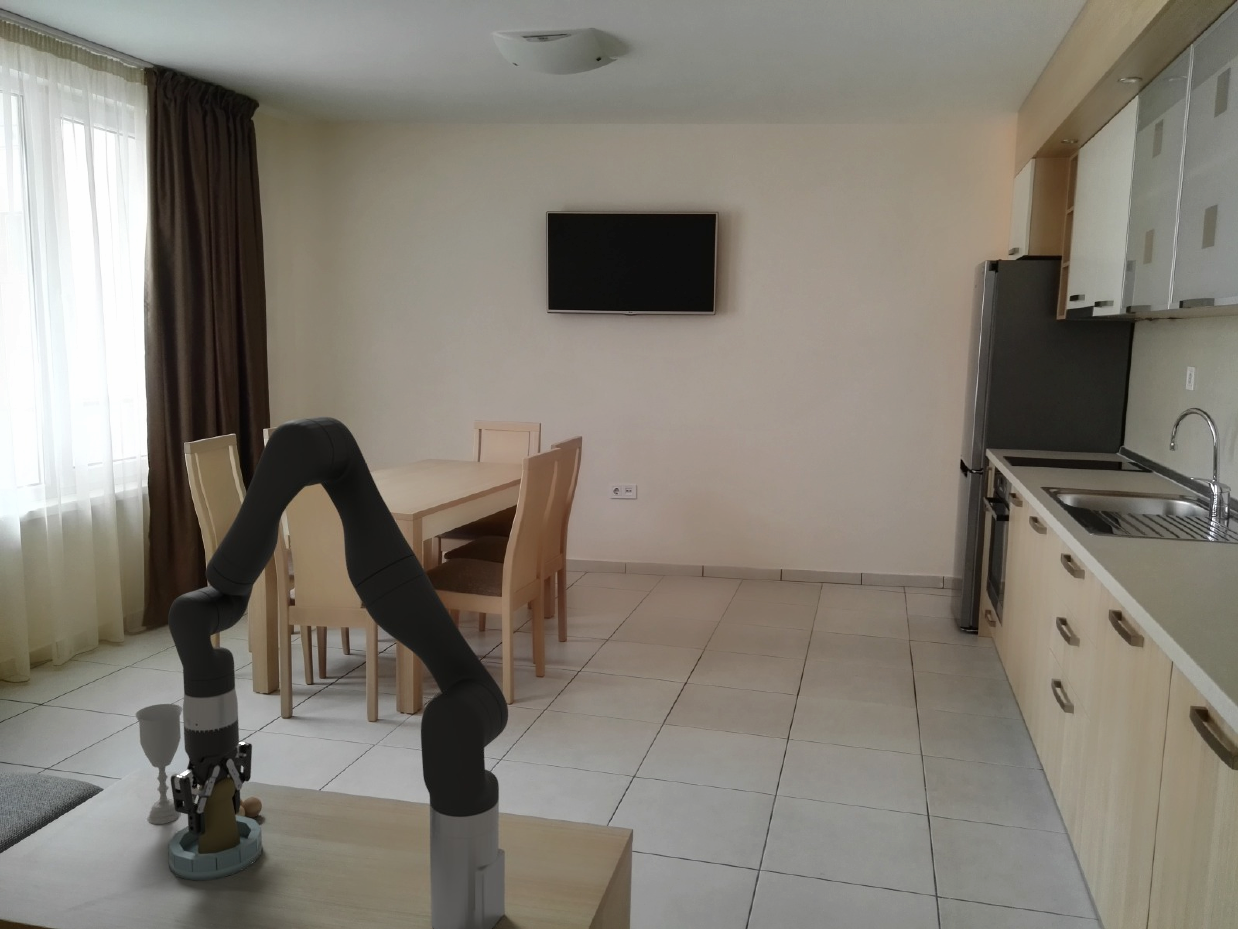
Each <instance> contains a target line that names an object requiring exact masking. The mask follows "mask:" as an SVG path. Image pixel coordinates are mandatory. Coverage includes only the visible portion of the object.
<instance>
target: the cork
mask: <svg viewBox="0 0 1238 929" xmlns="http://www.w3.org/2000/svg"><path fill="white" fill-rule="evenodd" d="M198 786H199V787H198V789H200V790H203V789H204V786H200V785H198ZM234 793H235V782H234V781H233V779H231V778H230V777H229V776H227V778H226V779H223V780H221V781H220V782H218V783H217V784H216V785H215V786H213V789H212V792H211V795H210V796H209V797H207V799H206V802H205V806H204V809H203V811H204V815H205V833H204V834H203V835H201V836H199V844H198V853H199V854H210V853H218V852H221V851H225V850H228V849H231V848H234V847H236V846H237V845H239V844H240V843H241V842H240V837H239V832H238V827H237V821H236V816H235V811H234V806H233V801H232V797H233V795H234Z"/></svg>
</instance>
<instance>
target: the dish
mask: <svg viewBox="0 0 1238 929" xmlns="http://www.w3.org/2000/svg"><path fill="white" fill-rule="evenodd" d="M235 816H236V821H237V827H238V832H239V837H240V842H241V843H240V844H239V845H237V846H236V847H234V848H231V849H228V850H225V851H221V852H218V853H210V854H199V853H198V844H199V836H197V835H193V834H192V833H191V832H189V830H188V825H187V826H185V827H183V828H182V829H180V830H179V831H177V832H176V833H175V834H174V835H173V836H172V838H171V839H170V841H169V844H168V845H167V846H168V864H169V870H170V872H171V873H172V874H173V875H174V876H176V877H178V878H181V879H184V880H191V881H210V879H211V880H216V878H217V879H221V878H224V877H223V876H225V877H228V875H229V876H230V874H231V875H233V874H232V873H234V874H236V872H237V873H239V872H241V871H242V870H241V869H243V870H245V869H246V867H247V866H248V867H249V865H250V864H251V863H252V862H254V861H255V860H256V859H257V858H258V859H259V857H260V856H261V854H262V852H261V851H263V844H262V842H263V841H262V837H263V836H262V827H261V826H260V824H259V823H258V822H257V821H256V819H254V818H248V817H246V816H245V817H243V816H239V815H238V816H237V815H235ZM259 855H260V856H259ZM258 856H259V857H258ZM258 859H257V860H258ZM257 860H256V861H257ZM256 861H255V862H256ZM255 862H254V863H255ZM252 864H253V863H252ZM252 864H251V865H252ZM251 865H250V866H251ZM248 867H247V868H248ZM244 868H245V869H244ZM240 870H241V871H240ZM238 871H239V872H238ZM220 877H221V878H220Z"/></svg>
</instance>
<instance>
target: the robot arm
mask: <svg viewBox="0 0 1238 929" xmlns="http://www.w3.org/2000/svg"><path fill="white" fill-rule="evenodd" d="M273 430H274V431H273V432H272V433H271V434H270V436H269V438H268V439H267V442H266V444H265V446H264V448H263V451H262V453H261V456H260V459H258V460H259V461H258V464H257V466H256V468H255V471H254V474H253V477H252V479H251V481H250V484H249V486H248V488H247V491H246V494H245V497H244V499H243V501H242V502H241V503H242V504H241V505H240V507H239V510H238V512H237V515H236V517H235V518H234V520H233V522H232V524H231V525H230V528H229V529H228V531H227V533H226V534H225V535H224V537H223V539H222V540H221V542H220V543H219V545H218V546H217V548H216V550H215V552H214V553H213V555H212V556H211V558H210V559H209V561H208V563H207V565H206V569H205V578H206V581H207V583H208V584H209V586H205V587H202V588H199V589H196V590H193V591H189V592H186V593H184V594H181V595H179V596H178V597H177V598H175V599H174V600H173V602H172V604H171V606H170V609H169V612H168V616H167V617H168V618H167V623H168V629H169V633H170V635H171V637H172V640H173V643H174V646H175V648H176V653H177V655H178V658H179V660H180V663H181V666H182V676H183V691H184V692H183V702H182V703H183V704H182V709H183V710H182V718H183V740H184V741H183V742H184V752H185V753H186V755H187V758H188V764H187V768H186V770H185V771H183V772H181V773H180V774H177V773H174V774H171V777H170V786H171V791H172V792H171V793H172V798H173V799H172V800H173V801H174V807H175V811H176V812H180V813H181V814H184V815H187V824H188V825H187V826H188V830H189V832H191V833H192V834H193V835H197V836H201V835H203V834H204V833H205V815H204V811H203V809H204V806H205V802H206V799H207V797H209V796H210V795H211V792H212V789H213V786H215V785H216V784H217V783H218V782H220V781H221V780H223V779H226V778H227V776H229V777H230V778H231V779H233V781H234V782H235V793H234V795H233V797H232V801H233V806H234V811H235V814H237V813H239V808H240V798H241V790H242V788H243V785H244V783H245V782H249V781H251V780H250V779H251V777H252V753H253V745H252V743H249V742H245V741H241V740H240V734H239V733H240V732H239V731H240V729H239V708H238V707H239V706H238V704H239V703H238V697H237V696H238V695H237V692H236V691H237V690H236V677H235V660H234V655H233V653H232V651H231V650H230V649H228V648H226V647H221V646H214V645H213V643H212V639H211V637H212V636H214V635H216V634H218V633H219V634H220V633H221V632H224V631H226V630H229V629H231V628H232V627H234V626H235V625H236V624H237V623H238V622H239V621H240V620H241V619H242V618H243V616H244V615H245V613H246V611H247V608H248V605H249V603H250V600H251V596H252V592H253V588H254V584H255V583H256V581H258V579H259V577H260V576H261V574H262V573H263V572H264V570H265V568H266V567H267V565H268V564H269V562H270V561H271V559H272V556H273V555H274V553H275V550H276V548H277V544H278V541H279V540H278V539H279V530H280V529H279V527H280V521H281V518H282V516H283V514H284V512H285V510H286V509H287V507H288V505H289V504H290V503H291V502H292V501H293V500H294V498H295V497H296V496H297V495H298V494H299V493H300V492H301V491H302V490H303V489H305V487H311V486H314V485H319V484H320V485H321V486H322V487H323V489H324V490H325V492H326V493H327V495H328V497H329V498H330V500H331V502H332V504H333V505H334V508H336V511H337V513H338V516H339V518H340V521H341V524H342V529H343V540H344V541H343V542H344V558H345V566H346V570H347V571H346V572H347V574H348V578H349V581H350V583H351V585H352V586H353V589H354V591H355V592H356V594H357V596H358V598H359V599H360V601H361V603H362V604H363V606H364V608H365V609H366V611H367V613H368V614H369V616H370V617H371V619H373V621H374V622H375V623H376V625H378V627H380V628H381V629H382V630H383V631H384V632H385V633H387V634H388V635H389V636H390V637H392V638H393V639H395V640H396V641H398V642H399V643H400V644H402V645H403V646H404V647H405V648H407V649H408V650H410V651H411V652H412V653H413V654H415V656H417V657H418V659H420V660H421V661H422V663H423V664H424V665H425V667H426V668H427V670H428V671H429V673H430V674H431V676H432V678H433V679H434V681H435V682H436V685H437V686H438V688H439V691H440V692H441V693H440V694H438V695H436V696H435V697H434V698H432V699H431V700H430V701H429V702H428V703H427V704H426V706H425V708H424V710H423V713H422V717H421V722H420V742H421V743H420V744H421V745H420V746H421V747H420V748H421V761H422V762H421V764H422V776H423V781H424V785H425V788H426V790H427V792H428V794H429V845H430V846H429V848H430V849H429V851H430V852H429V853H430V854H429V859H430V860H429V861H430V862H429V864H430V865H429V868H430V870H429V871H430V872H429V873H430V874H429V876H430V879H429V880H430V924H431V926H432V928H433V929H493V928H494V927H496V926H495V925H497V923H498V922H499V921H500V920H501V919H502V917H503V916H504V915H505V912H506V911H505V910H506V908H505V906H506V905H505V904H506V902H505V900H506V899H505V898H506V897H505V896H506V895H505V894H506V892H505V891H506V887H505V886H506V885H505V884H506V882H505V878H506V877H505V876H506V875H505V874H506V873H505V872H506V871H505V870H506V869H505V868H506V862H505V861H506V860H505V859H506V854H505V853H506V852H505V850H504V849H502V848H499V844H500V839H499V838H500V837H499V836H500V834H499V833H500V831H499V826H500V824H499V818H500V810H499V805H500V802H499V801H500V795H499V794H500V790H499V789H500V785H499V780H498V777H497V776H496V774H494V773H493V772H492V771H490V770H488V769H486V765H485V748H486V747H487V746H488V745H490V743H492V742H493V741H494V740H495V739H497V738H498V737H499V736H500V735H501V734H502V733H503V732H504V730H505V729H506V727H507V725H508V720H509V707H508V703H507V700H506V698H505V695H504V694H503V692H502V690H501V687H500V686H499V685H498V683H497V681H496V680H495V679H494V678H493V676H492V675H491V673H490V672H489V670H488V669H487V668H486V667H485V665H484V664H483V663H482V661H481V660H480V658H479V657H478V656H477V654H476V653H475V652H474V650H473V649H472V648H471V646H470V645H469V642H467V640H466V639H465V637H464V635H463V634H462V633H461V631H460V630H459V628H458V626H457V625H456V622H455V621H454V619H453V618H452V616H451V614H450V613H449V611H448V609H447V608H446V606H445V604H444V603H443V601H442V600H441V597H440V596H439V594H438V593H437V591H436V589H435V587H434V585H433V583H432V582H431V580H430V578H429V576H428V574H427V572H426V570H425V569H424V567H423V566H422V565H423V564H421V561H420V560H419V559H418V557H417V555H416V553H415V552H414V550H413V549H412V547H411V546H410V544H409V543H408V541H407V539H406V538H405V536H404V534H403V532H402V531H401V529H400V527H399V525H398V524H397V521H396V520H395V518H394V516H393V513H392V512H391V511H390V509H389V507H388V505H387V504H386V502H385V499H383V497H382V495H381V492H380V490H379V489H378V487H377V484H376V482H375V480H374V478H373V476H372V473H371V471H370V469H369V466H368V464H367V462H366V459H365V457H364V455H363V453H362V450H361V448H360V446H359V445H358V442H357V440H356V438H355V437H354V435H353V433H352V432H351V430H350V429H349V427H347V425H345V424H344V423H343V422H342V421H340V420H339V419H337V418H334V417H329V416H315V417H308V418H307V417H305V418H304V417H303V418H296V419H293V420H292V419H291V420H288V421H285V422H283V423H281V424H280V425H278V426H277V427H276V428H274V429H273ZM198 786H204V789H203V790H200V789H199V787H198ZM197 796H198V798H197ZM196 799H197V801H196Z"/></svg>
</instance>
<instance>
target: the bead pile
mask: <svg viewBox="0 0 1238 929" xmlns="http://www.w3.org/2000/svg"><path fill="white" fill-rule="evenodd" d="M262 807H263V804H262V801H261V800H260V799H259V798H258V797H255V796H251V797H248V798H245V799H244V801H243V799H241V797H240V808H239V813H237V814H235V815H237V816H238V815H239V816H243V817H247V818H251V819H253V818H255V817H257V816H258V815H260V813H261V811H262V809H263V808H262Z"/></svg>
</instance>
